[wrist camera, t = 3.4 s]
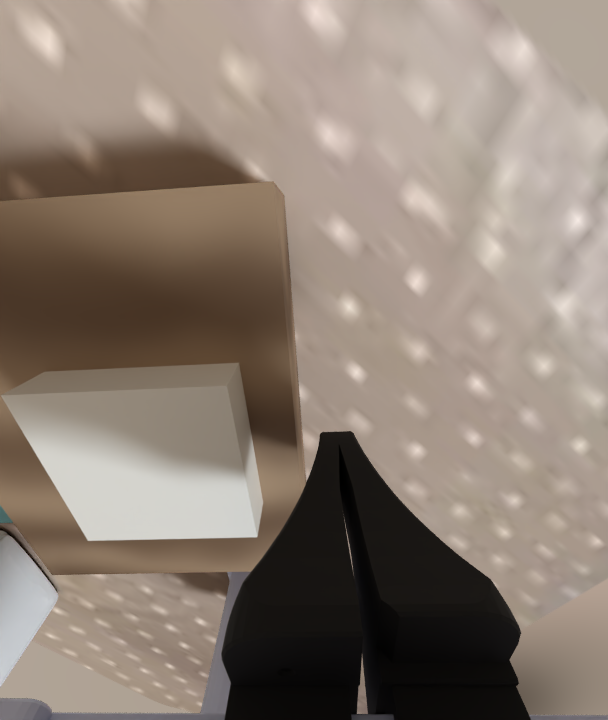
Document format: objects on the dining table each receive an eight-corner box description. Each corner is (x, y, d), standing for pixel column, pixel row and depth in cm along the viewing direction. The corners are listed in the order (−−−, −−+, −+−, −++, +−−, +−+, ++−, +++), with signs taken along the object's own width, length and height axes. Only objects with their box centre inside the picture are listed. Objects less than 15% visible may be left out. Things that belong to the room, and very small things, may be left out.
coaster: (263, 502, 15) (257, 537, 13) (112, 506, 15) (88, 540, 13) (239, 362, 11) (226, 385, 10) (44, 371, 11) (0, 395, 10)
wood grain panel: (308, 510, 21) (307, 570, 17) (96, 515, 21) (52, 574, 18) (284, 195, 12) (273, 181, 9) (-67, 219, 13) (-215, 216, 9)
